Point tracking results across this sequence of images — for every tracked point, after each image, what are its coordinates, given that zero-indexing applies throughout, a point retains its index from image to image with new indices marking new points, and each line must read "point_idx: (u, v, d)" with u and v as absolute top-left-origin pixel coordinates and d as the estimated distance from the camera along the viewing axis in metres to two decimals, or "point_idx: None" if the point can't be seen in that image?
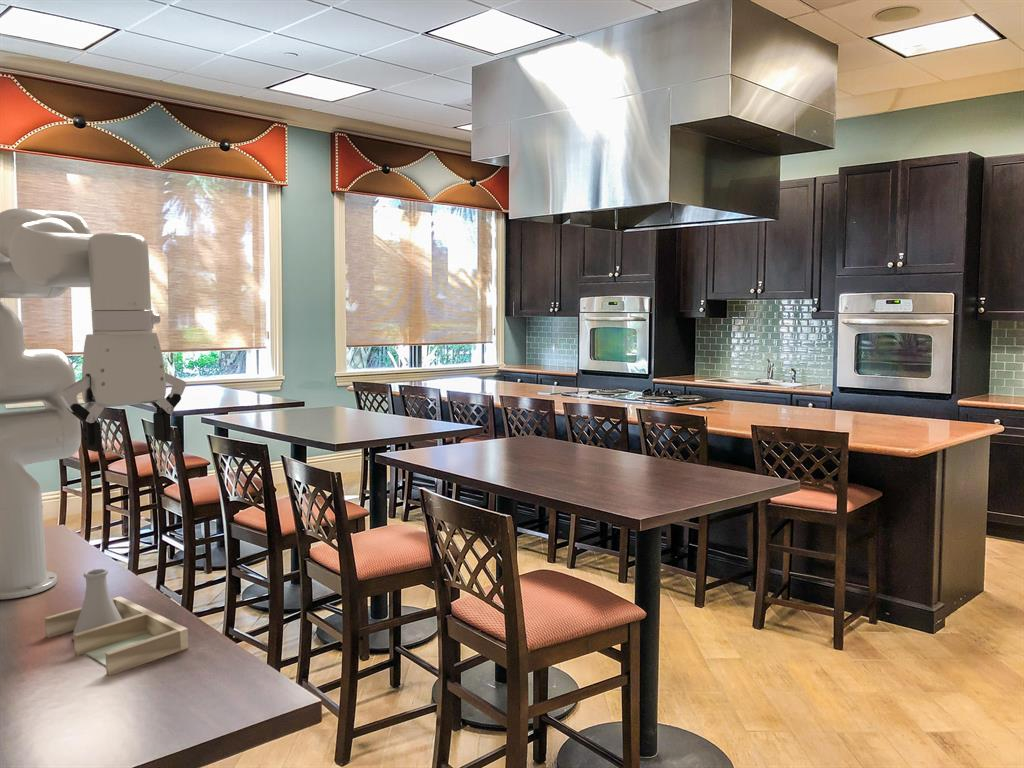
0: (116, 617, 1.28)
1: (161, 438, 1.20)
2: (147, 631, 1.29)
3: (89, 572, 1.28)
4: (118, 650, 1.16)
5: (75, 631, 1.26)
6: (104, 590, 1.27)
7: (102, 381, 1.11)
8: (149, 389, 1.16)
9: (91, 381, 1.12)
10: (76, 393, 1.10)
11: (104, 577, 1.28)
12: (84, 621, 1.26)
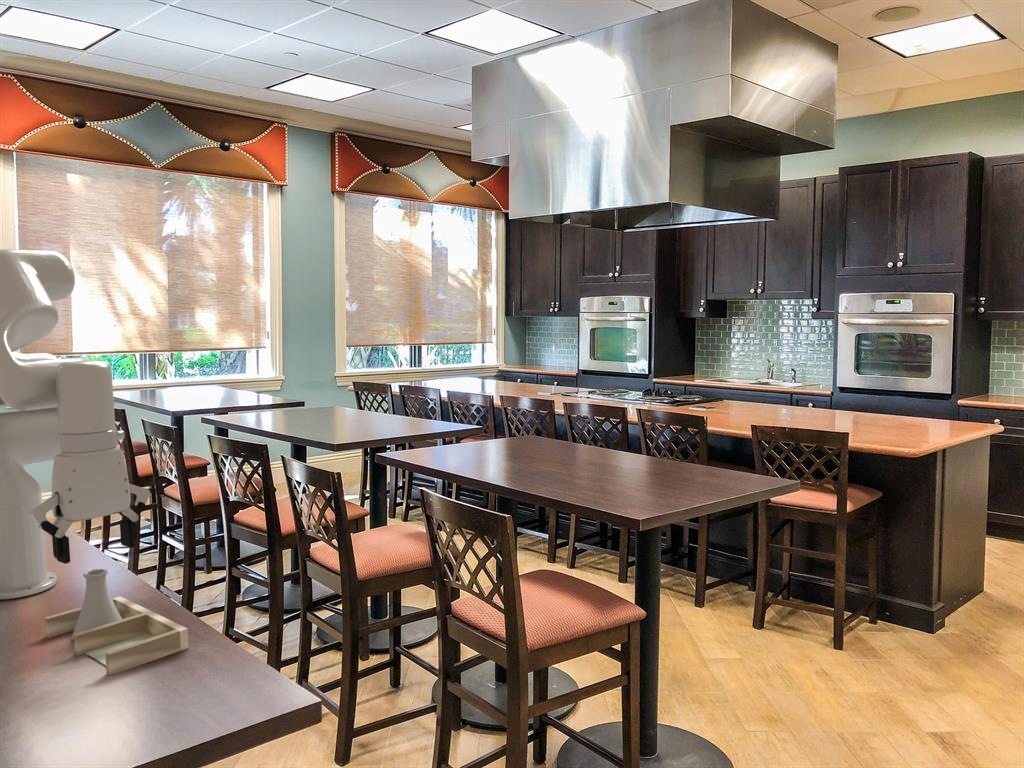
0: (116, 617, 1.28)
1: (127, 544, 1.30)
2: (147, 631, 1.29)
3: (89, 572, 1.28)
4: (118, 650, 1.16)
5: (75, 631, 1.26)
6: (104, 590, 1.27)
7: (70, 499, 1.21)
8: (114, 502, 1.26)
9: (60, 499, 1.22)
10: (45, 511, 1.20)
11: (104, 577, 1.28)
12: (84, 621, 1.26)
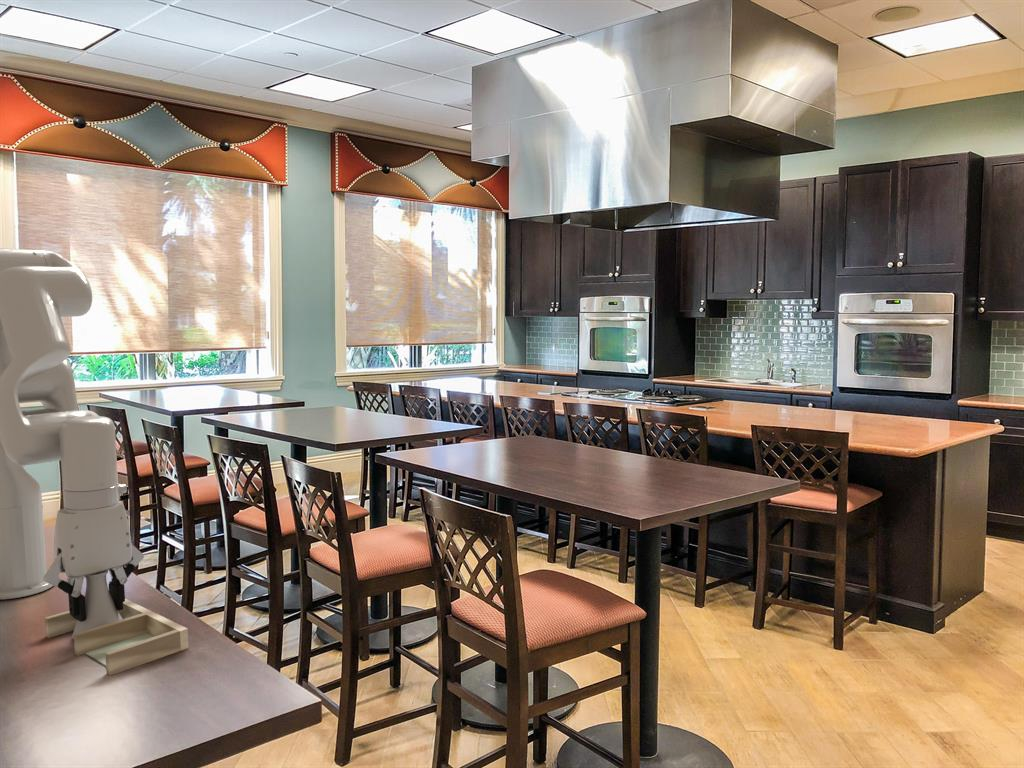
0: (116, 616, 1.28)
1: None
2: (147, 631, 1.29)
3: None
4: (118, 650, 1.16)
5: (75, 631, 1.26)
6: (104, 590, 1.27)
7: (72, 555, 1.22)
8: (116, 556, 1.27)
9: (62, 555, 1.23)
10: (57, 574, 1.23)
11: (104, 577, 1.28)
12: None
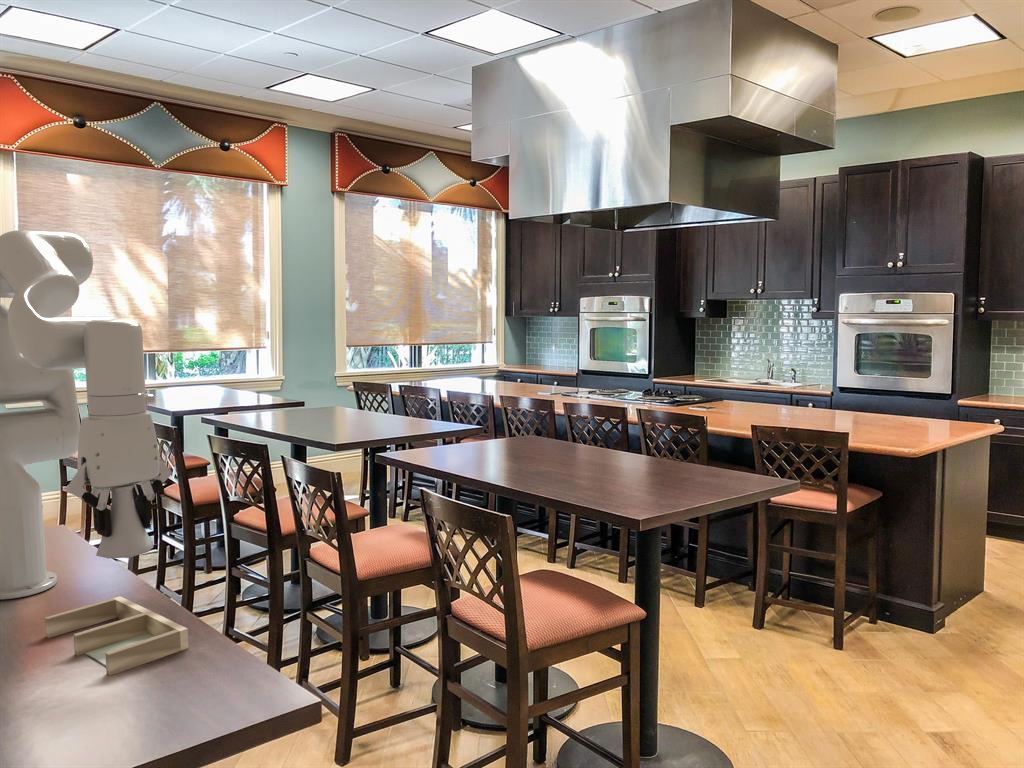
0: (143, 534, 1.20)
1: None
2: (147, 631, 1.29)
3: None
4: (118, 650, 1.16)
5: (100, 548, 1.18)
6: (130, 504, 1.19)
7: (97, 464, 1.15)
8: (143, 469, 1.20)
9: (87, 464, 1.15)
10: (81, 484, 1.15)
11: (130, 491, 1.20)
12: (110, 536, 1.18)
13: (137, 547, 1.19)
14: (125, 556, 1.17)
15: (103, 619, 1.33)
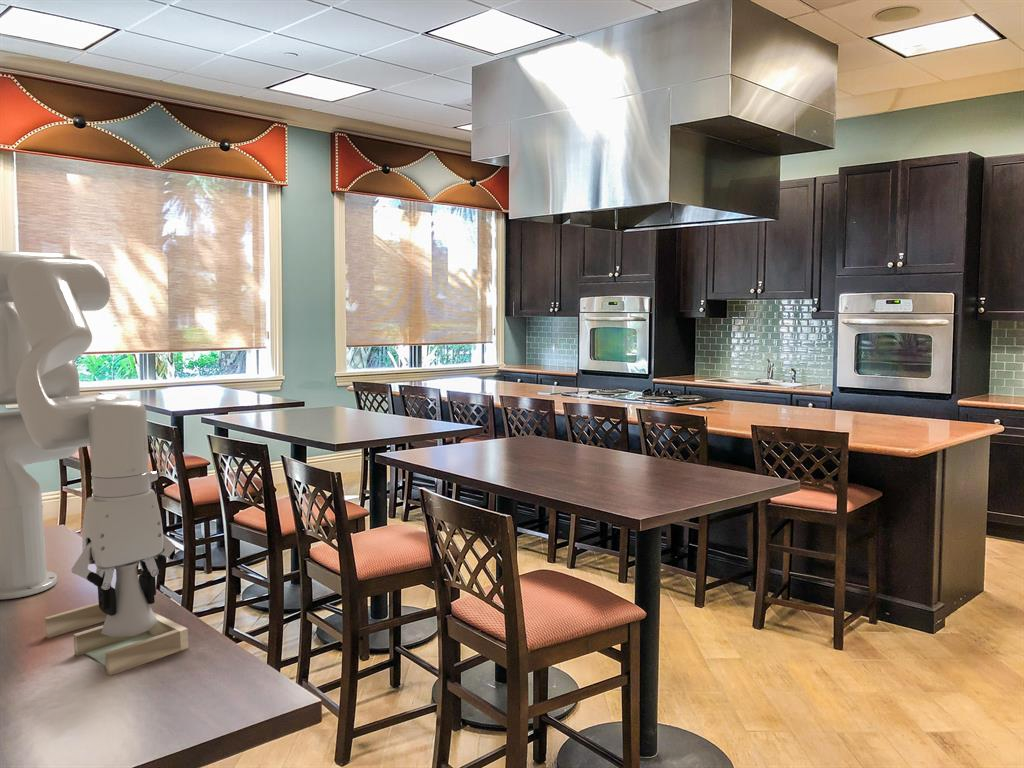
0: (147, 610, 1.22)
1: None
2: (147, 631, 1.29)
3: None
4: (118, 650, 1.16)
5: (105, 625, 1.20)
6: (135, 582, 1.21)
7: (102, 545, 1.16)
8: (147, 547, 1.21)
9: (92, 545, 1.16)
10: (86, 565, 1.16)
11: (135, 568, 1.21)
12: None
13: (142, 624, 1.20)
14: (130, 634, 1.18)
15: (103, 619, 1.33)
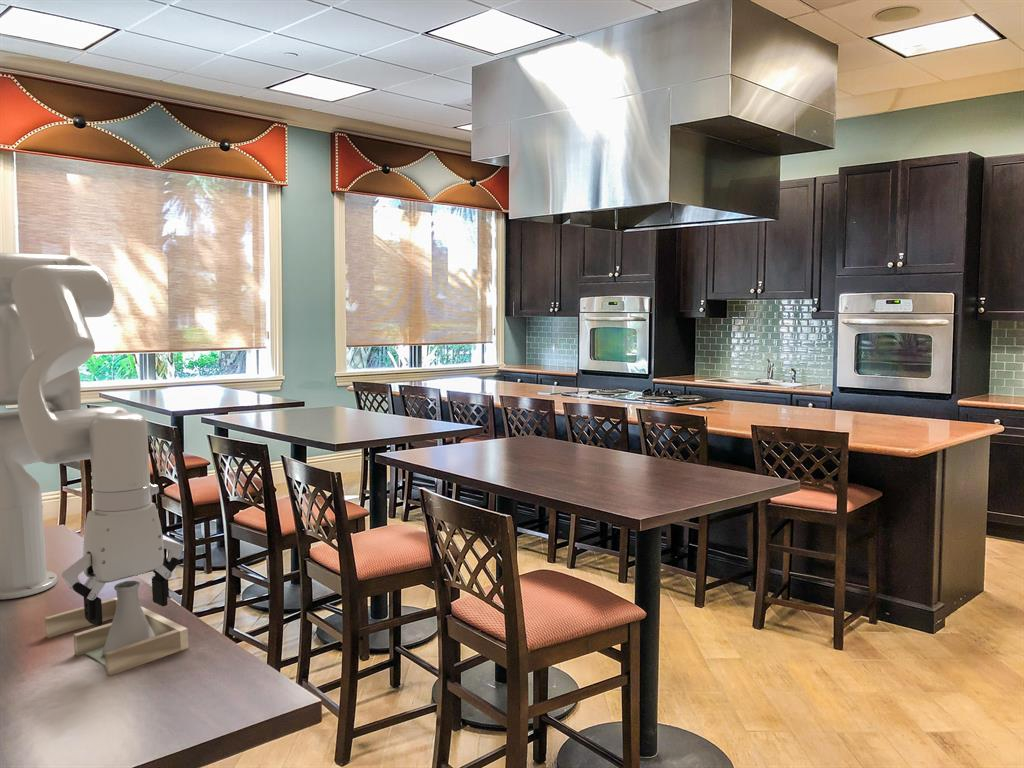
0: (147, 632, 1.22)
1: (159, 602, 1.25)
2: None
3: (120, 584, 1.22)
4: (118, 650, 1.16)
5: (105, 646, 1.20)
6: (135, 603, 1.21)
7: (103, 559, 1.16)
8: (148, 560, 1.21)
9: (92, 559, 1.16)
10: (78, 573, 1.15)
11: (135, 590, 1.21)
12: (115, 636, 1.20)
13: None
14: None
15: (103, 619, 1.33)
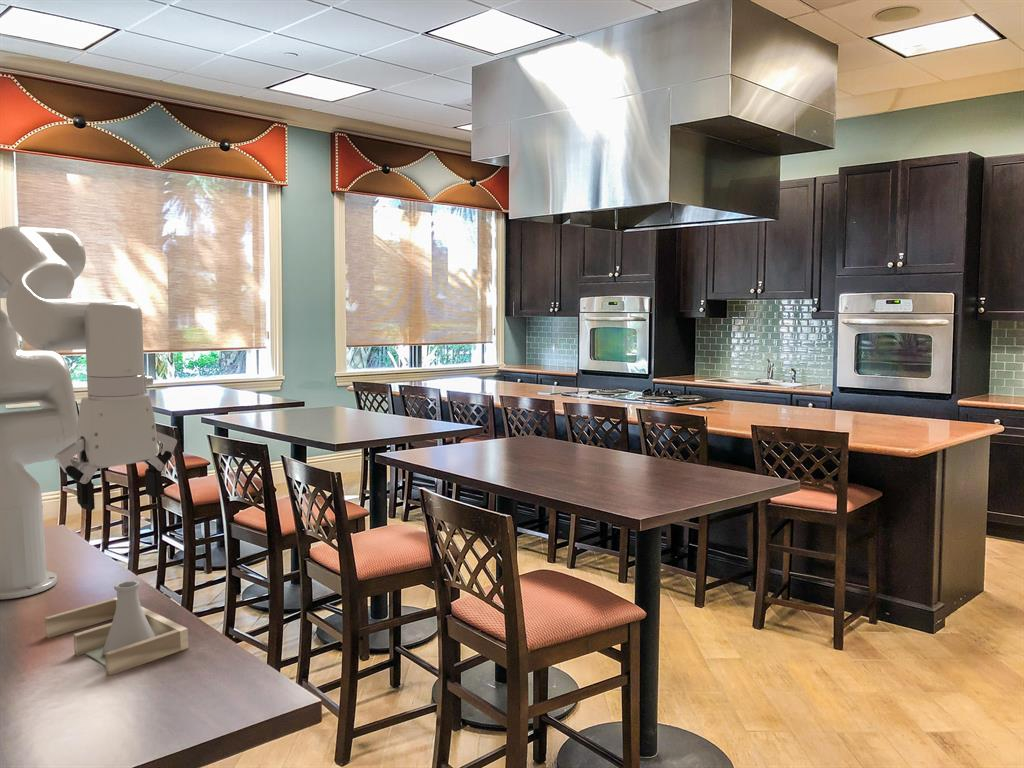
0: (147, 632, 1.22)
1: (152, 494, 1.26)
2: None
3: (120, 584, 1.22)
4: (118, 650, 1.16)
5: (105, 646, 1.20)
6: (135, 603, 1.21)
7: (96, 444, 1.17)
8: (141, 449, 1.22)
9: (86, 443, 1.17)
10: (71, 456, 1.16)
11: (135, 590, 1.21)
12: (115, 636, 1.20)
13: None
14: None
15: (103, 619, 1.33)
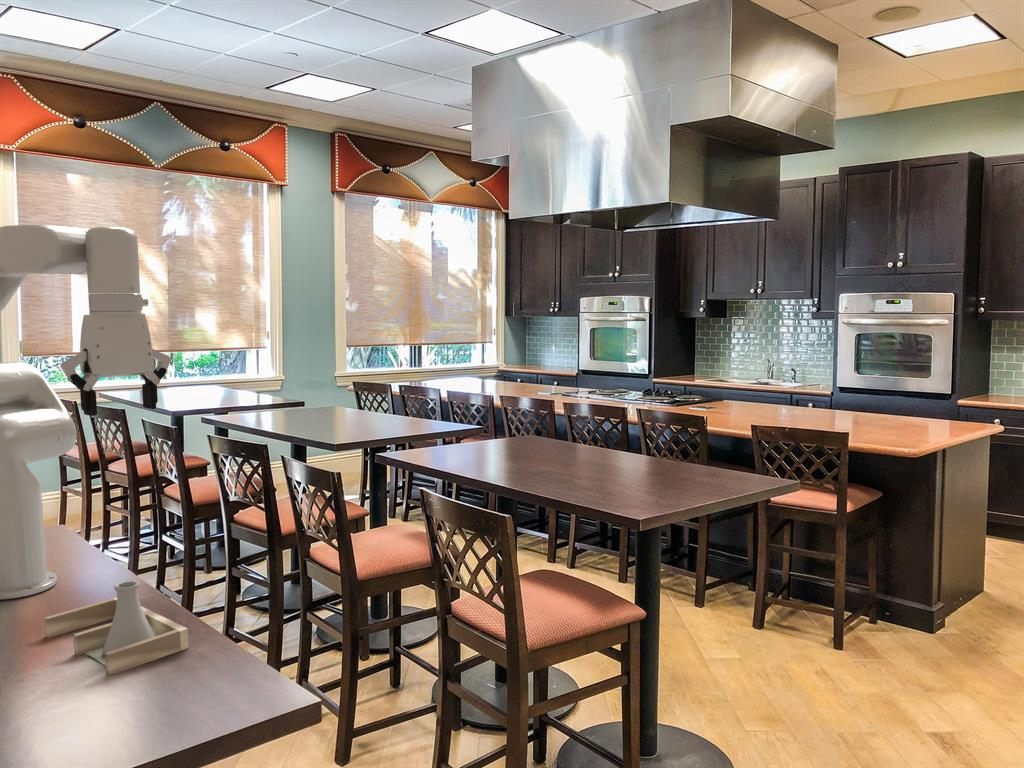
0: (147, 632, 1.22)
1: (149, 406, 1.38)
2: None
3: (120, 584, 1.22)
4: (118, 650, 1.16)
5: (105, 646, 1.20)
6: (135, 603, 1.21)
7: (97, 354, 1.29)
8: (138, 363, 1.34)
9: (88, 354, 1.30)
10: (75, 365, 1.28)
11: (135, 590, 1.21)
12: (115, 636, 1.20)
13: None
14: None
15: (103, 619, 1.33)
